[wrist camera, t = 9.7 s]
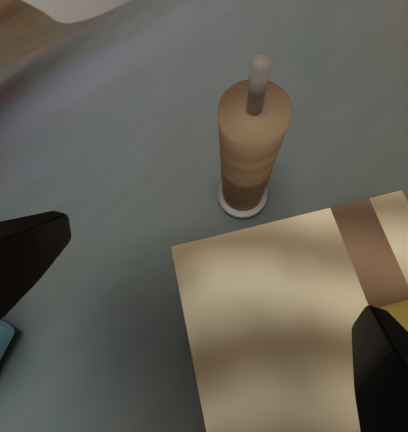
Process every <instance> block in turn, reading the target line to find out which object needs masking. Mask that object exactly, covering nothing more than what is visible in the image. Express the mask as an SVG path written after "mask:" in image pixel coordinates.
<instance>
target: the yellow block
mask: <svg viewBox="0 0 408 432" xmlns="http://www.w3.org/2000/svg"><path fill="white" fill-rule="evenodd" d="M379 308H382V309H385V310H387V311H388V312H389V313H390V314H391V315H392V316H393V317H394V318H395V319H396V320H397V321H398V322H399V323H400V324H401V325H402V326H403V327H404V328H405V329H406V330H407V331H408V300H405V301H401V302H398V303H394V304H390V305H386V306H382V307H379Z"/></svg>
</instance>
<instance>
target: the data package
mask: <svg viewBox="0 0 408 432" xmlns="http://www.w3.org/2000/svg"><path fill="white" fill-rule="evenodd" d="M14 333H15V331H14V328H13V327H12V326H11V325H10V324H8V323H6V322H4V321H2V320H0V360H1V358H2V356H3V354H4V352H5V350H6V349H7V347H8V345H9V343H10V341H11V339H12V337H13V336H14Z"/></svg>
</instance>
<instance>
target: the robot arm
mask: <svg viewBox="0 0 408 432" xmlns="http://www.w3.org/2000/svg"><path fill="white" fill-rule="evenodd" d="M70 239H71V230H70V224H69V218H68V216H67V215H66V214H64V213H61V212H57V211H50V212H45V213H41V214H36V215H31V216H26V217H21V218H16V219H11V220H6V221H1V222H0V320H1V319H2V318H3V317H4V316H5V315H6V314H7V313H8V312H9V311H10V310H11V309H12V308H13V307H14V306H15V305H16V303H17V302H18V301H19V300H20V299H21V298H22V297H23V296H24V295H25V294H26V293H27V292H28V291H29V290H30V289H31V288H32V287H33V286H34V285H35V284H36V283H37V281H38V280H39V279H40V278H41V277H42V276H43V274H44V273H45V272H46V271H47V269H48V268H49V267H50V266H51V264H52V263H53V262H54V261H55V259H56V258H57V257H58V256H59V254H60V253H61V252H62V251H63V249H64V248H65V247H66V246H67V244H68V243H69V241H70ZM351 335H352V356H353V376H354V391H355V399H356V406H357V412H358V418H359V425H360V431H361V432H408V331H407V330H406V329H405V328H404V327H403V326H402V325H401V324H400V323H399V322H398V321H397V320H396V319H395V318H394V317H393V316H392V315H391V314H390V313H389V312H388V311H387V310H385V309H382V308H379V307H375V306H372V305H368V306H366V307H365V308H364V309H363V311H362V312H361V314H360V315H359V317H358V318H357V320H356V321H355V322H354V324H353V326H352V331H351Z"/></svg>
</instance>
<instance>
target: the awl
mask: <svg viewBox="0 0 408 432" xmlns="http://www.w3.org/2000/svg"><path fill="white" fill-rule="evenodd" d="M271 61H272V58H271V56H270V55H269V54H268V53H265V52H258V53H256V54H254V55H253V56H252V58H251V64H250V75H249V80H244V81H241V82H238V83H236V84H234V85H233V86H231V87H230V88H229V89H228V90H226V91H225V93H224V94H223V95H222V97H221V99H220V101H219V104H218V126H219V142H220V158H221V174H222V181H221V182H220V184H219V187H218V200H219V204H220V206H221V208H222V210H223V211H224V212H225V213H226V214H227V215H229V216H231V217H233V218H236V219H249V218H252V217H254V216H256V215H257V214H258V213H260V211H261V210H262V209H263V207H264V205H265V203H266V200H267V197H268V189H267V183H268V180H269V177H270V174H271V172H272V169H273V166H274V163H275V160H276V158H277V155H278V152H279V149H280V147H281V144H282V141H283V138H284V136H285V133H286V130H287V127H288V124H289V122H290V119H291V116H292V104H291V100H290V98H289V96H288V95H287V93H286V92H285V91H284V90H283V89H282V88H281V87H280V86H278V85H277V84H275V83H273V82H270V81H268V77H269V72H270V67H271Z"/></svg>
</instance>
